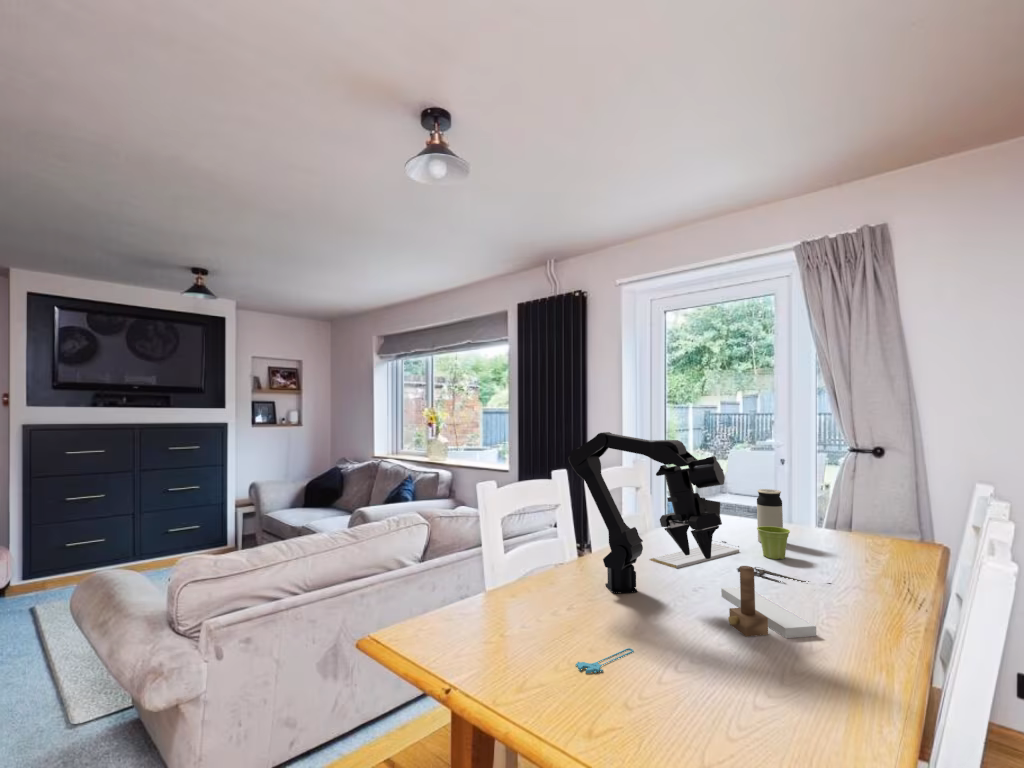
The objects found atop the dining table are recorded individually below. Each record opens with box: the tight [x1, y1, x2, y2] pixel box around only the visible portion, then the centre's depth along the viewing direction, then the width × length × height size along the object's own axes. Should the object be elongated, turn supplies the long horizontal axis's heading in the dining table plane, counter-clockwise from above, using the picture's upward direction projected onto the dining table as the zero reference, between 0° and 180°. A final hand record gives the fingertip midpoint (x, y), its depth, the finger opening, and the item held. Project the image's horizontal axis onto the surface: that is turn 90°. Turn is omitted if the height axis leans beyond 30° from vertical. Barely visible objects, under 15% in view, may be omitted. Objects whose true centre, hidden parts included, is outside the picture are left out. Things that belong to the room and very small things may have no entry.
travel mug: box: [756, 488, 784, 543], centre depth 181 cm, size 8×8×18 cm
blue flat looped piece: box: [575, 647, 635, 674], centre depth 97 cm, size 14×1×5 cm
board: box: [720, 586, 817, 639], centre depth 118 cm, size 7×24×2 cm, turn 8°
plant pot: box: [756, 526, 791, 560], centre depth 163 cm, size 9×9×9 cm
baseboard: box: [649, 539, 740, 569], centre depth 166 cm, size 31×3×12 cm
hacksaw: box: [736, 566, 810, 583], centre depth 143 cm, size 24×10×2 cm, turn 36°
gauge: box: [728, 565, 769, 638], centre depth 110 cm, size 7×6×13 cm
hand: (697, 556), depth 123 cm, fingers open, 9 cm apart
